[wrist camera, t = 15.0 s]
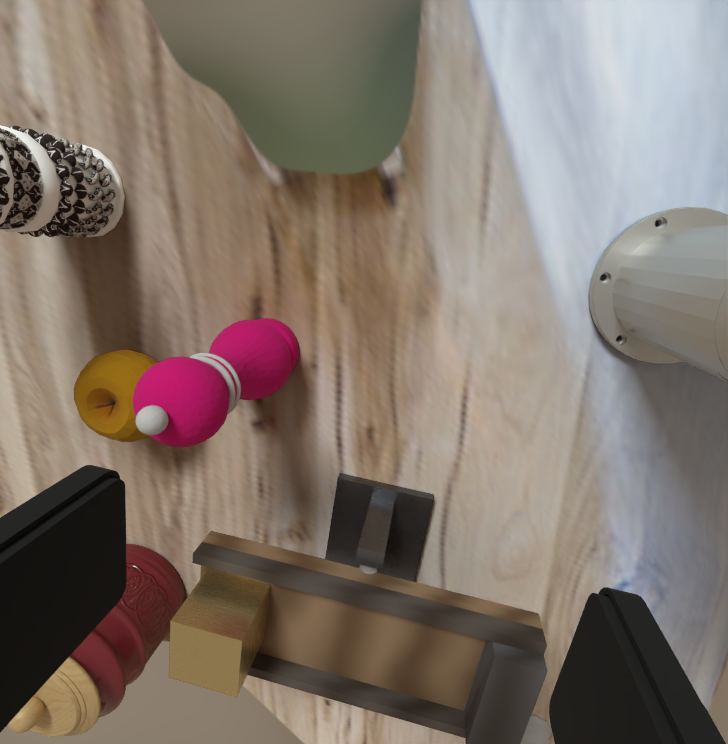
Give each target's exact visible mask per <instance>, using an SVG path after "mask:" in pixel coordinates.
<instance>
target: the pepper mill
mask: <svg viewBox="0 0 728 744" xmlns="http://www.w3.org/2000/svg"><path fill="white" fill-rule="evenodd" d="M298 358H299V345H298V342H297V339H296V337H295V335H294V333H293V332H292V331H291V330H290V329H289V327H287V326H286V325H285V324H283V323H282V322H280V321H278V320H275V319H269V318H264V319H258V320H243V321H239V322H236V323H234V324H232V325H230V326H229V327H227V328H225V329H224V330H223V331H222V332H221V333H220V334H219V335H218V336H217V337H216V339H215V340H214V342H213V343H212V345H211V348H210V351H209V353H199V354H195V355H192V356H190V357H172V358H168V359H165V360H163V361H161V362H159V363H157V364H155V365H153V366H152V367H150V368H149V369H148V370H147V371H146V372H145V373H144V374H143V375H142V376H141V378H140V379H139V381H138V383H137V384H136V387H135V389H134V394H133V409H134V413H135V416H136V421H135V422H136V426H137V428H138V429H139V431H141V432H142V433H144V434H146V435H149V436H150V437H151V438H153V439H154V440H156V441H158V442H160V443H162V444H165V445H169V446H174V447H188V446H193V445H196V444H199V443H201V442H204V441H206V440H207V439H209V438H210V437H212V436H213V435H214V434H215V433H216V432H217V431H218V430H219V429H220V428H221V426H222V425H223V424H224V422H225V420H226V417H227V414H229V413H230V412H231V411H233V410H234V408H235V407H236V406H237V404H238V402H239V399H243V400H254V399H260V398H264V397H267V396H269V395H271V394H272V393H274V392H276V391H277V390H278V389H279V388H281V387H282V386H283V384H284V383H285V382H286V380H287V379H288V376H289V374H290V372H291V371H292V370H293V369H294V367H295V366H296V364H297V361H298Z"/></svg>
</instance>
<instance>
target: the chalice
mask: <svg viewBox="0 0 728 744" xmlns="http://www.w3.org/2000/svg"><path fill="white" fill-rule="evenodd" d="M551 735H552V733H551V728H550V727H549V725H548V723H546V722H545V721H544V720H543V719H541V718H539V717H537V716H533V715H531V716H530V719H529V722H528V724H527V727H526V730H525V733H524V735H523V738H522V741H521V743H520V744H550V738H551Z"/></svg>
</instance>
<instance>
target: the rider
mask: <svg viewBox="0 0 728 744" xmlns="http://www.w3.org/2000/svg"><path fill="white" fill-rule="evenodd" d="M270 586H271V585H270V584H266V583H262V582H258V581H255V580H251V579H247V578H243V577H239V576H236V575H232V574H228V573H224V572H220V571H216V570H213V569H209V568H208V570H207V571H206V573H205V574H204V575H203V577H202V578H201V579H200V581H199V582H198V584H197V585H196V586H195V588H194V589H193V591H192V592H191V593H190V595H189V596H188V597H187V599H186V600H185V602H184V603H183V604H182V606H181V607H180V609H179V610H178V611H177V613H176V614H175V615H174V617H173V618H172V620H171V621H170V656H169V677H170V678H173V679H177V680H180V681H184V682H187V683H190V684H193V685H197V686H200V687H204V688H207V689H211V690H214V691H217V692H221V693H224V694H227V695H231V696H234V697H237V696H238V694H239V692H240V690H241V687H242V685H243V683H244V681H245V679H246V676H247V674H248V672H249V670H250V668H251V665H252V663H253V661H254V659H255V657H256V654H257V652H258V650H259V648H260V646H261V643H262V641H263V639H264V637H265V631H266V622H267V613H268V604H269V595H270Z"/></svg>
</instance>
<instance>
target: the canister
mask: <svg viewBox="0 0 728 744" xmlns="http://www.w3.org/2000/svg"><path fill="white" fill-rule="evenodd" d="M126 570H127V584H126V589H125V592H124V594H123V596H122V598H121V599H120V601H119V602H118V603H117V605H116V606H115V607H114V608H113V609H112V610H111V611H110V612H109V613H108V614H107V616H106V617H105V618H104V619H103V620H102V621H101V622H100V623H99V624H98V625H97V627H96V628H95V629H94V630H93V631H92V632H91V633H90V634H89V635H88V636H87V638H86V639H85V640H84V641H83V642H82V643H81V644H80V645H79V646H78V647H77V649H76V650H75V651H74V652H73V653H72V654H71V655H70V656H69V657H68V658H67V660H66V661H65V662H64V663H63V664H62V665H61V666H60V667H59V668H58V669H57V671H56V672H55V673H54V674H53V675H52V676H51V677H50V678H49V679H48V680H47V682H46V683H45V684H44V685H43V686H42V687H41V688H40V689H39V690H38V691H37V693H36V694H35V695H34V696H33V697H32V698H31V699H30V700H29V701H28V702H27V704H26V705H25V706H24V707H23V708H22V709H21V710H20V711H19V712H18V713H17V715H16V716H15V717H14V718H13V719H12V720H11V721H10V722H9V723H8V726H9V728H10V729H11V730H12V731H13V732H16V733H23V732H26V731H28V730H30V731H33V732H35V733H37V734H40V735H44V736H50V737H57V736H62V735H64V736H72V735H78V734H82V733H84V732H86V731H88V730H89V729H91V728H92V727H93V726H94V725H95V723H96V722H97V720H98V718H99V717H101V716H104V715H107V714H109V713H110V712H112V711H113V710H115V709H116V708H117V707H118V705H119V704H120V703H121V701H122V699H123V697H124V694H125V689H126V685H128V684H130V683H132V682H133V681H134V680H136V679H137V678H138V677H139V676H140V674H141V673H142V671H143V669H144V667H145V664H146V663H147V661H148V660H149V658H150V657H151V656H152V654H153V653H154V651H155V650H156V648H157V647H158V646H159V644H160V643H161V641H162V640H163V639H164V637H165V636H166V635H167V634H168V633H169V632H170V621H171V620H172V618H173V617H174V615H175V614H176V613H177V611H178V610H179V609H180V607H181V606H182V604H183V603H184V602H185V591H184V587H183V584H182V581H181V579H180V577H179V575H178V573H177V572H176V571H175V569H174V568H173V567H172V565H171V564H170V563H169V562H168V561H167V560H165V559H164V558H163V557H162V556H160V555H159V554H157V553H156V552H154V551H152V550H150V549H148V548H145V547H142V546H139V545H133V544H126Z"/></svg>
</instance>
